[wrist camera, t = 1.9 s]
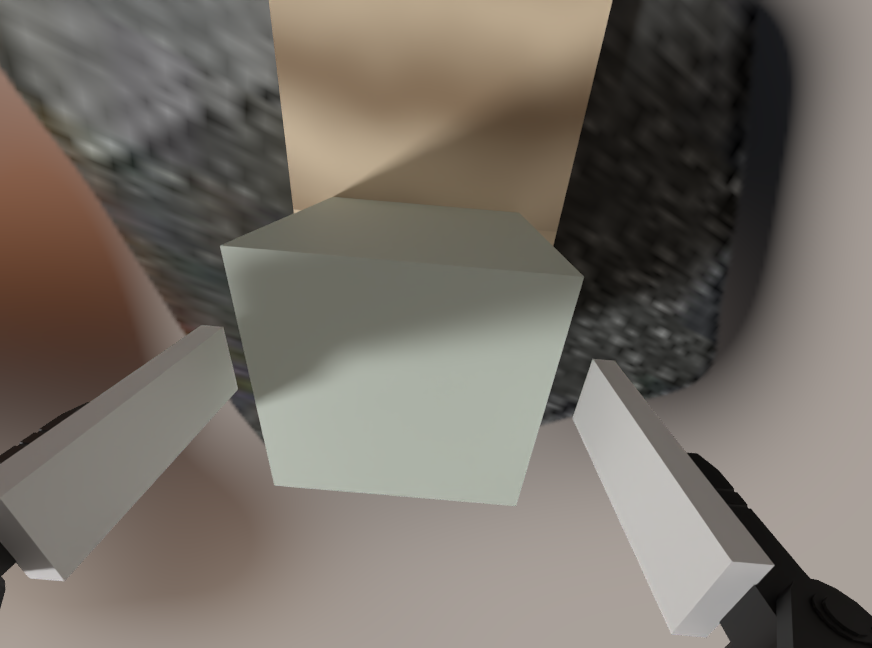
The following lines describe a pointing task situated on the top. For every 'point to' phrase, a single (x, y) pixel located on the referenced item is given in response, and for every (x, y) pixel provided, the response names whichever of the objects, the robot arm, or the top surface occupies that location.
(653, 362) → the top surface
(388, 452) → the block
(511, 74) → the board
